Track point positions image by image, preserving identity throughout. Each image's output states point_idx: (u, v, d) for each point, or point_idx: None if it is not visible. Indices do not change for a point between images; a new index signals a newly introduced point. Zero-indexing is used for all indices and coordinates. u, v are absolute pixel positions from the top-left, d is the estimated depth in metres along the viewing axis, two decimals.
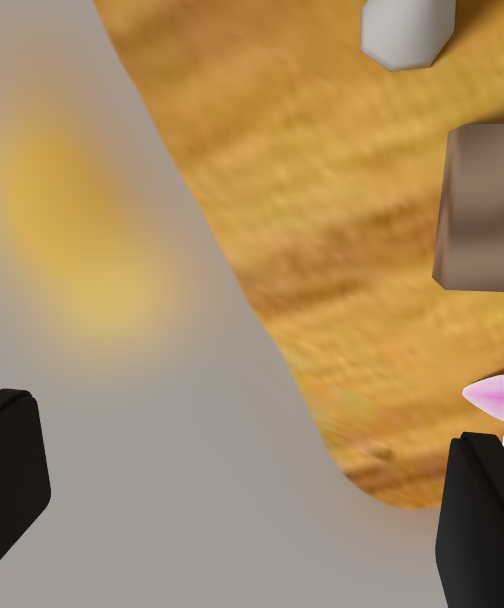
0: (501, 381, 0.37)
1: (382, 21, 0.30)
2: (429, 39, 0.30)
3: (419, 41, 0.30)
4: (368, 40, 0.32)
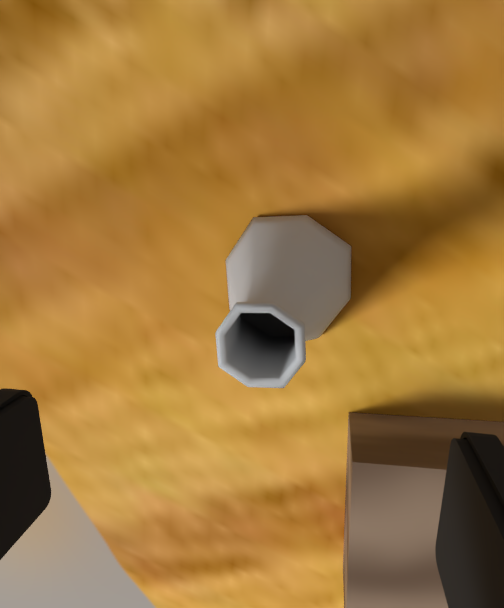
0: None
1: None
2: (305, 339, 0.21)
3: None
4: None
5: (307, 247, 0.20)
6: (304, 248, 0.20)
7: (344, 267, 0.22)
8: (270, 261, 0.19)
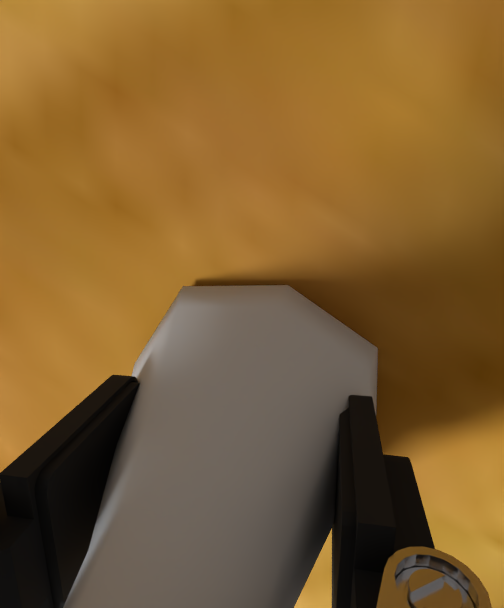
0: None
1: None
2: None
3: None
4: None
5: (283, 375, 0.09)
6: (278, 376, 0.09)
7: None
8: (185, 432, 0.07)
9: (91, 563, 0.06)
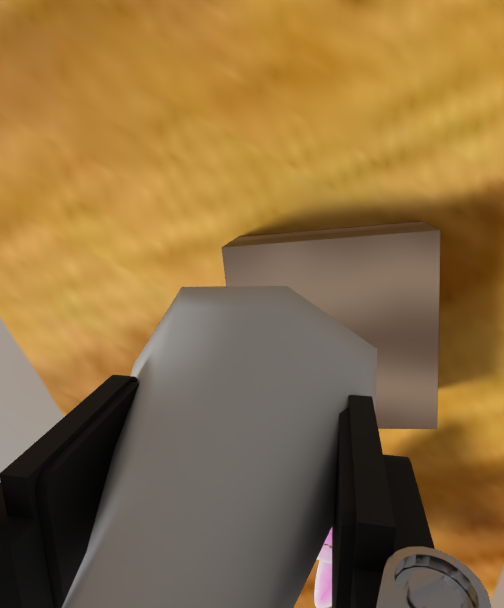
0: None
1: None
2: None
3: None
4: None
5: (282, 376, 0.09)
6: (276, 377, 0.09)
7: None
8: (183, 433, 0.07)
9: (89, 566, 0.06)
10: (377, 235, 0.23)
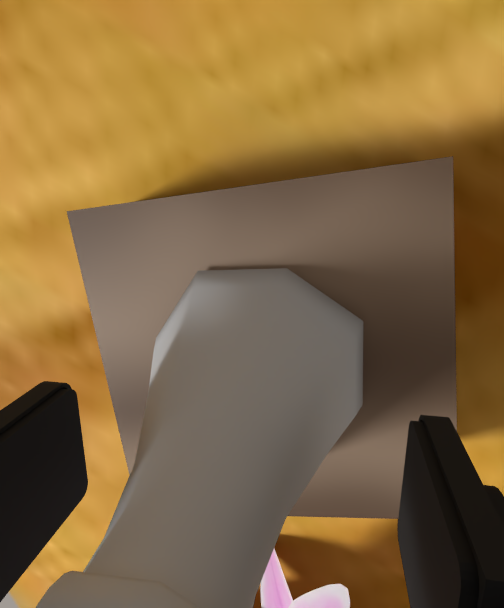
0: None
1: None
2: None
3: None
4: None
5: (283, 338, 0.11)
6: (279, 338, 0.11)
7: (352, 362, 0.12)
8: (206, 376, 0.09)
9: (142, 463, 0.08)
10: (334, 174, 0.12)
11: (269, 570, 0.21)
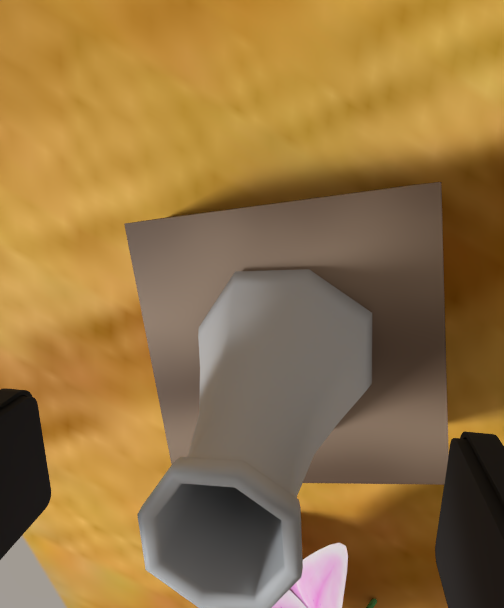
0: None
1: None
2: None
3: None
4: None
5: (309, 322, 0.14)
6: (305, 323, 0.14)
7: (363, 345, 0.15)
8: (252, 349, 0.12)
9: (210, 407, 0.11)
10: (346, 195, 0.15)
11: None
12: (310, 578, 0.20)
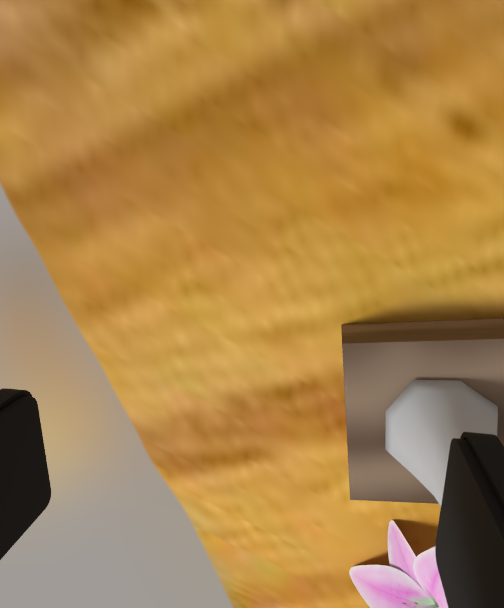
0: (380, 572, 0.35)
1: (414, 474, 0.25)
2: None
3: None
4: (395, 458, 0.28)
5: (474, 419, 0.25)
6: (473, 419, 0.25)
7: None
8: None
9: None
10: (485, 339, 0.27)
11: (394, 540, 0.35)
12: (428, 564, 0.32)
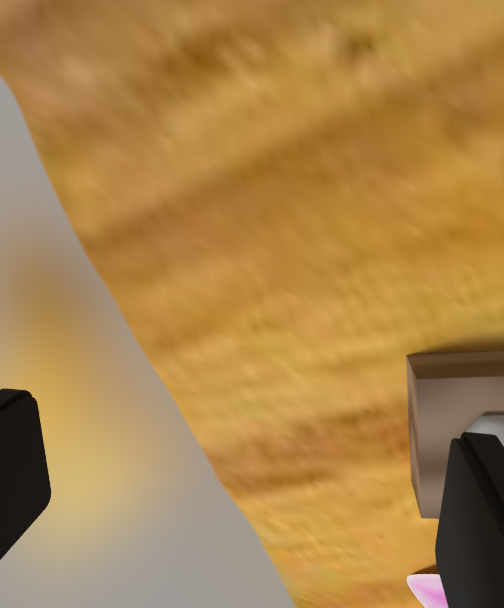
0: (439, 581, 0.38)
1: None
2: None
3: None
4: None
5: None
6: None
7: None
8: None
9: None
10: None
11: None
12: None
